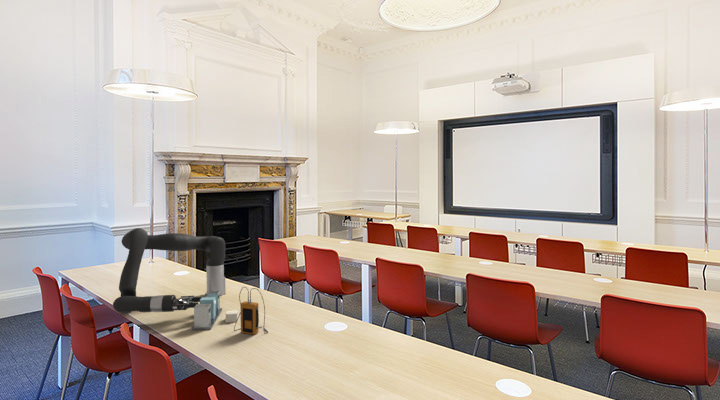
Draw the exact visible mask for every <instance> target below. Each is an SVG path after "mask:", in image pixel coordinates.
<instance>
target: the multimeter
mask: <svg viewBox="0 0 720 400" xmlns="http://www.w3.org/2000/svg"><path fill="white" fill-rule="evenodd" d="M244 288H245V289H246V290H247V301H243V302H241V292H242V290H243V289H244ZM252 290H257V291H258V292H259V294H260V296H261V299H262V301H263V302H262V303H263V308H264V315H263V316H264V317H263V324H265V320H266V306H265V301H264V298H263V295H262V293H261V291H260V290H259V289H258V288H256V287H253V288H251V289H250V291H249V289H248V287H247V286H243V287H241V289H240V292H239V296H238V297H239V298H238V299H239V304H240V311H239V313H238V319H237V321H236V322H235V324H234V328H233V331H234V332H236V331H239V330H240V333H242V334H248V335H253V336H254V335H257V334H258V333H259V329H260V328H262V329H263V333H264V334H268V333H269V331H268V329H266V328H265V327H266V325H263V326H262V325H261V326H259V325H260V324H259V322H260V320H259V318H260V316H259V315H260V314H259V303H258V302H252V296H251V294H252V293H251V292H252ZM239 319H240V328H238V329H235V328H236V325H237V323H238V320H239ZM265 331H266V332H265Z"/></svg>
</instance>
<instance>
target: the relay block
mask: <svg viewBox="0 0 720 400" xmlns="http://www.w3.org/2000/svg"><path fill="white" fill-rule="evenodd" d="M238 317H239V310H238V309H233V310H226V312H225V323H236V321H237V322H238V320H239V318H238ZM237 319H238V320H237Z"/></svg>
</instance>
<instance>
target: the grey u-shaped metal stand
mask: <svg viewBox="0 0 720 400" xmlns="http://www.w3.org/2000/svg"><path fill="white" fill-rule="evenodd" d="M204 297H215V300H216V316H215V318H214V319H211V304H200V303H198V304H196V306H195V307H194V308H193V323H194V324H193V326H192V327H191V331H193V332H194V331H208V330H209V331H210V330H212V329H213V327H214V326H215V323H216V322H217V320H218V318H219V317H220V315H221V314H222V312H223V308H222V307H221V296H220V291H207V290H206V292H205V293H204Z"/></svg>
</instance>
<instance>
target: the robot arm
mask: <svg viewBox="0 0 720 400" xmlns="http://www.w3.org/2000/svg"><path fill="white" fill-rule="evenodd" d="M121 244H122V246H123V247H124V248H125V249H127V250H128V254H127V258H126V259H125V260H126V261H125V263H124V266H123V268H122V270H121V273H120V278H119V285H118V290H119V293H120V296H119V297H117V298H115V299H114V300H113V302H112V308H113V309H114V310H115V312H117V313H120V314H123V315H128V314H130V313H133V312H140V313H170V312H175V311H186V310H189V309H194V307H195V306H196V304H199V303H200V299H201V298H202V297H203V296H195V295H181V296H180V297H178V298H177V297H176V296H177V295H175V294H165V295H164V294H162V295H149V296H145V295H144V296H137V285H138V281H139V280H138V279H139V272H140V267H141V263H142V259H143V257H144V252H145V250H154V251H155V250H157V251H168V252H169V251H172V252H187V251H193V250H194V251H195V250H196V251H204V252H208V253H209V258H208V259H207V260H206V262H205V263H206V265H205V266H206V267H205V269H206V292H207V291H220V297H221V296H223V295H225V294H226V289H227V288H226V276H225V274H224V273H225V266H224V262H225V260H226V241H225V240H224V238H223V237H220V236H215V235H209V236H208V235H207V236H206V235H205V236H195V235H192V234H186V233H176V232H173V233H171V232H170V233H169V232H168V233H163V234H154V235H153V234H151V235H150V234H148V232H147V231H146V229H143V228H140V227H137V228H134V229H131V230H130V231H128V232H126V233H125V234H124V235H123V237H122V239H121Z"/></svg>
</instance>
